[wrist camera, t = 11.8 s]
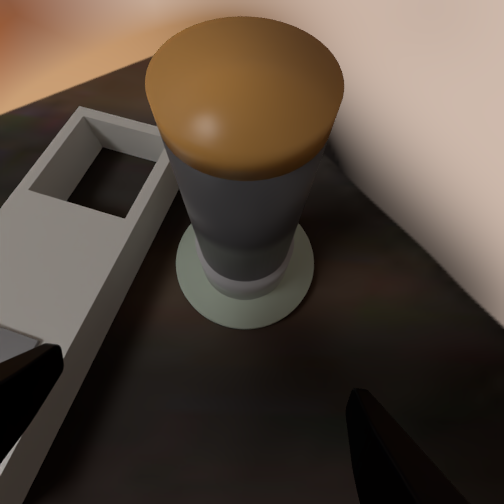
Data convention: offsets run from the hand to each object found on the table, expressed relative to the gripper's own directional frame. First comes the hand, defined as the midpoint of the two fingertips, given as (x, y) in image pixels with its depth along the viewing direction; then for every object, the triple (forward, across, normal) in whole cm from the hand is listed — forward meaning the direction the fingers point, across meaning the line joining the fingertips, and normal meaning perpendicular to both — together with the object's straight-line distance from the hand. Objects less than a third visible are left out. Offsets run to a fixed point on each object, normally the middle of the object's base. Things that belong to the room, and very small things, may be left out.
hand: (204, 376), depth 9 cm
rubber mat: (+11, 0, +1) cm, 11 cm away
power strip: (+9, +11, +3) cm, 14 cm away
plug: (+11, 0, 0) cm, 11 cm away
